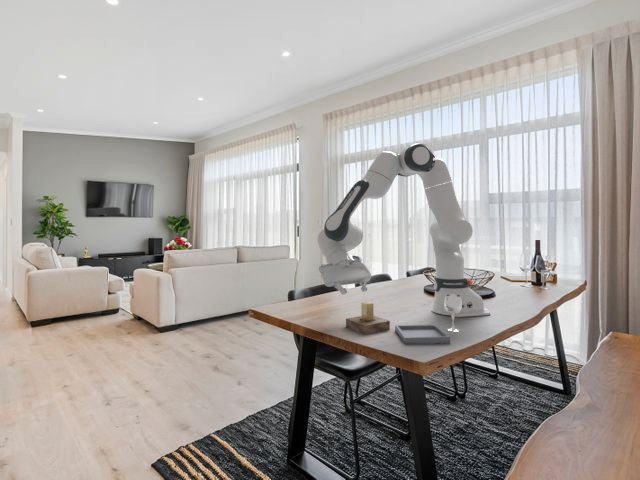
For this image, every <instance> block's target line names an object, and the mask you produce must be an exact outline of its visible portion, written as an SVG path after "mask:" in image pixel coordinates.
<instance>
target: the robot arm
mask: <svg viewBox="0 0 640 480" xmlns="http://www.w3.org/2000/svg"><path fill="white" fill-rule="evenodd" d="M415 175H418V176H419V178H420V179H421V181H422V184H423V185H422V186H423V188H424V194H425V197H426V201H427V205H428V207H429V209H430V211H431V212H432V214H433V215H434V218H435V220H434V222H432V224H431V225H430V226H429V234H430V236H431V240H432V244H433V245H432V246H433V250H434V251H433V252H434V257H435V277H434V280H433V281H434V282H433V284H434V285H433V288H434V298H433V299H434V300H433V303H432V307H431V311H432V312H433V313H435V314H439V315H443V316H450V317H452V314H450V313H448V312H447V311H446V310H445V307H444V302H445V297H446V295H448V294H455V295H460V297H461V301H462V309H461V311H460V312H459V313H457V314H454V318H462V317H463V318H464V317H477V316H479V317H480V316H488V315H491V310H489V309H488V308H486V307H485V305H484V299H483V298H482V296H481V295H480V294H478V293H477V292H476V291H474V290H472V288H471V287H469V286H472V285H473V284H474V282H473V280H471V279H467V278H465V259H464V256H463V254H462V252H461V247H460V245H462V244H465V243H467V242H469V241H470V239H471V238H472V236H473V226H472V224H471V223H470V221H468V219H467V218H466V216H465V214H464V212H463V210H462V208H461V206H460V204H459V202H458V199H457V195H456V191H455V188H454V184H453V181H452V177H451V174H450V171H449V169H448V167H447V164H446V162H445V161H444V160H443V159H442V158H440V157H436V156H435V155H434V154H433V152H432V150H431V149H430V148H429V147H428V146H427V145H426V144H424V143H413V144H411V145H408V146H407V147H405V148H403V149H402V150H401V151H400V152H398V153H394V152H392V151H389V150H384V151H381V152H379V154H378V155H377V157H376V158H375V159H374V160H373V162H372V163H371V165H370V166H369V168H368V170H367V171H366V173H365V175H364V176H363V177H362V178H361V179H360V180H358V181H356V182H355V183H354V184H353V186H352V187H351V189H350V190H349V191H348V192H347V193H346V195H345V197H344V198H343V199H342V201H341V202H340V204H339V205H338V206H337V208H336V209H335V210H334V212H332V213H331V214H330V216H328V218H327V219H326V221H325V223H324V228H323V229H322V230H321V231H320V232H319V233H318V235H317V244H318V246H319V247H318V248H319V249H320V252H321V253H322V255H323V256H324V258H325V261H326V264H321V265H319V267H318V270H319V274H321V278H322V281H323V284H324V286H326V287H329V288H330V287H334V288H335V289H336V290H337V291H339V293H340V294H341V295H346V294H347V293H348V291H347V288H346V287H343V286H346V285H347V286H349V285H353V284H354V285H356V284H360V285H361V287H360V290H361V292H363V293H364V292H367V291H368V287H367V283H369V281H370V280H371V278H372V274H371V272H370V270H369V268H368V267H367V265H366V264H365V263H364V262H362V261H363V258H362V257H361V256H358V255H355V254H351V253H348V252H349V251H352V250H353V249H355V248H357V247H358V246H360V244H361V243H362V241H363V237H364V235H363V230H362V229H361V228H360V227H359V226H357V225H356V224H355V223H353V222H352V221H351V218H352V216H353V214H354V213H355V212H356V210H357V208H358V207H359V205H360V204H361V203H362V202H363V201H364V200H366V199H371V200H376V199H380V198H383V197H384V196H386V194H387V193H388V192H389V190H390V188H391V186H392V185H393V183H394V181H395V179H396V177H397V176H401V177H407V178H408V177H411V176H415Z"/></svg>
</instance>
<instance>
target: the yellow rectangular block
mask: <svg viewBox="0 0 640 480" xmlns="http://www.w3.org/2000/svg"><path fill="white" fill-rule="evenodd" d="M360 307H361V308H360V309H361V316H362V321H365V322H370V321H374V316H375V315H374V302H371V301H364V302H361V305H360Z"/></svg>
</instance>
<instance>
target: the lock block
mask: <svg viewBox="0 0 640 480" xmlns="http://www.w3.org/2000/svg"><path fill="white" fill-rule="evenodd" d="M373 316H374V321H370V322H365V321H362V315H359V316H353V317H348V318H345V327H346V328H348V329H350V330H353V331H356V332H358V333H360V334H363V335H368V334H373V333H378V332H383V331H388V330H390V329H391V328H390V327H391V321H390V320H389V319H385V318H382V317H379V316H376V315H373Z"/></svg>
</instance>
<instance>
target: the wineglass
mask: <svg viewBox="0 0 640 480" xmlns="http://www.w3.org/2000/svg"><path fill="white" fill-rule="evenodd" d="M444 307H445V310H446V311H447V312H448V313H450V314H452V316H451V321H452V322H451V327H447V328H445V330H446V331H447V332H451V333H457V332H458V333H459V332H460V331H461V330H460V328H455V325H454V321H455V317H454V314H457V313H459V312H460V311H461V309H462V301H461V297H460V295H455V294H448V295H446V297H445V302H444Z"/></svg>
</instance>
